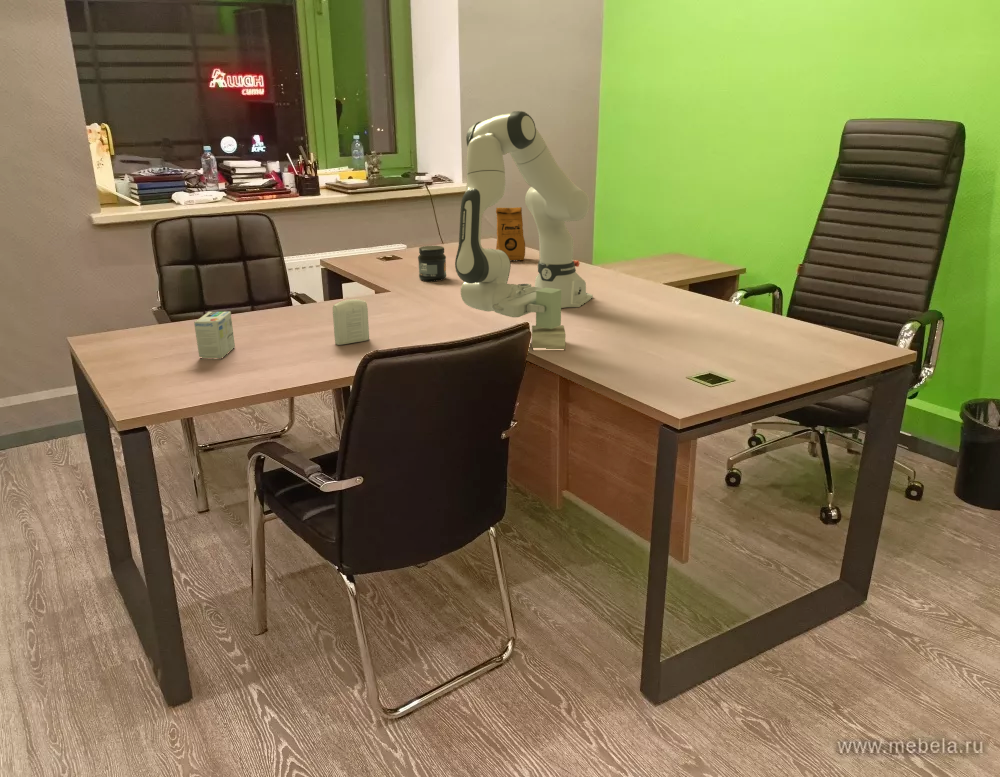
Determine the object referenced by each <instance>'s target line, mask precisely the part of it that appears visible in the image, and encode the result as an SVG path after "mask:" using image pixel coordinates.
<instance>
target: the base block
mask: <svg viewBox="0 0 1000 777" xmlns="http://www.w3.org/2000/svg"><path fill="white" fill-rule="evenodd" d="M532 347H533V348H546V349H565V350H566V330H565V325H559V326H557V327H555V328H552V329H548V328H543V327H538V326H536V325H531V348H532Z"/></svg>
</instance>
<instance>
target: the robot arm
mask: <svg viewBox="0 0 1000 777" xmlns="http://www.w3.org/2000/svg"><path fill="white" fill-rule="evenodd" d="M465 138H466V140H465V142H466V147H467V152H466V164H465V165H466V166H465V168H466V188H465V192H464V193H463V195H462V198H461V202H460V215H459V217H460V218H459V235H458V246H457V251H456V256H455V259H454V268H455V272H456V273H457V276H458V277H459V280H461V281H463V283H462V284H461V287H460V297H461V299H462V301H463V303H464V304H465V305H466V306H467V307H470V308H471V309H475V310H479V311H483V312H494V313H496V314H499V315H503V316H506V317H510V318H520V317H523V316H526V315H528V314H530V313H536V312H541V313H543V312H545V311H546V305H536V291H538V290H540V289H543V288H553V289H559V290H561V309H563V308H580V307H582V306H583V305H584V303H585V304H586V303H588V302H589V301H590V300H592V299H593V298H594V295H593V294H592V293H588V292H587V284H586V283H587V282H586V280H585V279H583V278H582V277H581V276H580V275H579V274H578V272H577V270H576V267H577V268H578V267H579V266H580V261H579V260H573V258H574V238H573V236H572V234H571V233H570V231H569V230H568V228H567V225H566V223H565V222H576V221H581V220H583V219H584V218H585V217H586V216H587V215H588V212H589V210H590V206H591V200H590V197H589V195H588V193H587V192H586V191H584V190H583V189H582V188H580V187H579V186H578V185H576V183H574V182H573V181H572V179H571V178H570V177H569V176H568V175H567V174H566V173H565V172H564V171H563V169H562V168H561V167H560V166H559V165H558V163H557V162H556V161H555V158H554V156H553V155H552V153H551V151H550V149H549V147H548V145H547V144H546V142H545V140H544V138H543V136H542V135H541V133H540V132H539V131H538V129H537V128H536V123H535V121H534V119H533V118H532V117H531V115H529V113H527V112H526V111H522V110H521V111H520V110H516V111H512V112H508V113H503V114H498V115H494V116H493V117H490V118H488V119H485V120H483V121H477V122H476V123H474V124H472V125H471V126H469V128H468V130H467V133H466V137H465ZM506 154H510V156H511V159H513V160H512V161H513V162H514V163H515V165H516V167H517V169H518V171H519V173H520V174H521V177H522V178H523V180H524V181H525V183H527V185H528V186H530V187H529V188H528V190H527V191H526V193H525V197H524V198H525V199H524V201H525V202H524V203H525V206H526V208H527V210H528V211H529V212H530V214H531V215H532V217H533V221H534V223H535V226H536V230H537V234H538V242H539V243H538V244H539V250H538V251H539V258H538V259H539V260H538V262H537V272H538V274H537V276H536V277H535V281H534V286H532V284H530V283H519V284H515V283H508V281H509V278H510V272H511V261H510V259H509V257H508V255H507V254H506V253H505V252H504V251H502V250H497V249H496V248H483V246H482V240H481V239H482V218H483V215H484V213H485V212H486V210H487V209H489V208H491V207H493V206H495V205H496V204H497V203H499V202H500V200H502V198H503V197H504V195H505V190H506V168H505V162H504V161H505V160H504V155H506ZM591 298H592V299H591ZM581 305H582V306H581Z"/></svg>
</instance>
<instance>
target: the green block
mask: <svg viewBox="0 0 1000 777" xmlns="http://www.w3.org/2000/svg"><path fill="white" fill-rule="evenodd" d="M536 305H546V311H545V312H543V313H541V312H535V326H538V327H543V328H548V329H552V328H555V327H557V326H559V325H561V324H562V308H561V290H559V289H553V288H543V289H540V290H538V291H536Z"/></svg>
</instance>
